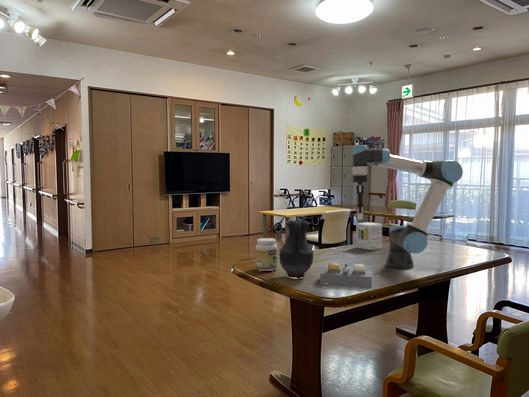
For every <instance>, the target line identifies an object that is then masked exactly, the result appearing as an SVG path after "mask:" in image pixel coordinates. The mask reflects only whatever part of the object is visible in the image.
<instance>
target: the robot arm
mask: <svg viewBox="0 0 529 397" xmlns="http://www.w3.org/2000/svg"><path fill="white" fill-rule="evenodd" d="M351 154H352V168H351V171H352V174H353V175H352V182H353V183H357V185H356V186H355V187H356V195H357V205H356V208H357V220H364V209H363V208H364V207H365V206H364V204H363V198H364V197H363V196H364V195H363V194H364V190H365V185H363V183H368V175H367V174H368V173H369V172H368V165H372V166H378V167H381V168H382V167H383V168H388V169H391V170H395V171H401V172H404V173H410V174H413V175H416V176H417V177H419V178H423V179H426V180H430V185H429V187H428V189H427V192H426V193H425V196H424V197H423V199H422V200H421V202H420V205H419V207H418V209H417V211H416V213H415V215H414V218H412V221H411V222H409V223H407V224H406V225H396V226H395V225H392V226H389V232H388V233H389V235H388V236H389V237H388V238H389V239H388V243H389V244H388V248H389V249H388V250H389V251H388V254H387V257H386V259H385V266H387V267H390V268H393V269H412V268H414V260H413V256H412V254H414V255H415V254H416V255H417V254H420V253H422V252H423V251H424V250H425V249H427V247H428V243H429V242H428V236H429V232H428V229H429V227H430V225H431V222H432V220H433V219H434V218H435V217H434V216H435V214H436V213H437V210H438V209H439V207H440V205H441V203H442V201H443V199H444V197H445V195H446V192H447V191H448V190H451V189H452V188H453V186H454V184H455V183H457V182H458V181H459V182H460V180H461V179H462V177H463V174H464V172H463V171H464V170H463V168H462V165H461V163H459V161H456V160H452V159H446V160H424V159H421V160H416V159H412V158H411V159H410V158H408V157H407V158H406V157H402V156H399V155H393V154H391V151H390V150H389V149H388V148H368V145H367V144H358V145H354V146H353V147H352V153H351Z"/></svg>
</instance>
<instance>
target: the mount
mask: <svg viewBox="0 0 529 397" xmlns="http://www.w3.org/2000/svg"><path fill="white" fill-rule="evenodd" d="M372 272H373V271H372V270H367V269H366V270H365V271H364V275H358V274H354V271H353V269H349V274H343V268H339V270H338V273H329V269H328V267H322V269H321V272H320V274H319V275H320V276H319V284H320V283H328V284H338V285H337V286H342V285H346V286H345V287H360V288H372V287H373V286H372V285H373V284H372V282H373V275H372V274H373V273H372Z"/></svg>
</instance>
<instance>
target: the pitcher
mask: <svg viewBox="0 0 529 397" xmlns="http://www.w3.org/2000/svg"><path fill="white" fill-rule="evenodd" d="M285 224H286V226H287V228H288V229H287V230H288V233H287V237H286V240H285V242H284V244H283V245H282V247H281V248H280V249H279V253H278V254H279V255H278V256H279V263H280V266H281V268H282V269H283V271H285V272H286V276H287V275H288V276H289V277H297V278H300V277H304V276H305V277H306V275H305V273H306V272H308V271H309V270H310V268H311V267H312V265H313V262H314V251H313V249H312V247H311V246H310V245H309V243H308V239H307V229H308V228H309V225H310V222H308V221H306V220H302V221H300V220H299V221H298V220H295V221H294V220H288V221H286V222H285Z"/></svg>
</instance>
